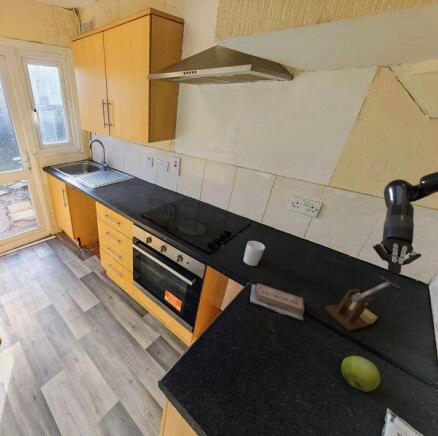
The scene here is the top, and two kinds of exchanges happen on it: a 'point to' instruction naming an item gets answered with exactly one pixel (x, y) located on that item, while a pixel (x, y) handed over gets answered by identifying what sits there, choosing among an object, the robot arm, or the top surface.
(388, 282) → the grey t-shaped tool
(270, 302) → the packaged product
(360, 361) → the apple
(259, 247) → the white cup
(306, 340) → the top surface
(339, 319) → the brown pronged stand
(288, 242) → the top surface
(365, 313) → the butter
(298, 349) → the top surface
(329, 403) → the top surface
